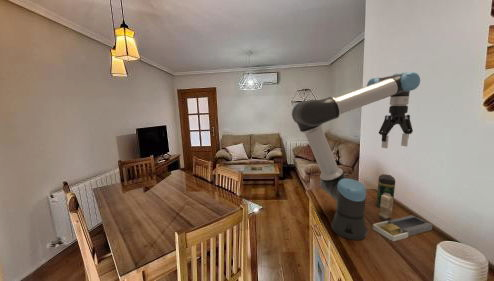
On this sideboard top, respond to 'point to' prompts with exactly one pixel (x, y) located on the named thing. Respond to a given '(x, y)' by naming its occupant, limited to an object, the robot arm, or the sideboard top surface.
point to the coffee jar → (385, 187)
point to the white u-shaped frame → (387, 235)
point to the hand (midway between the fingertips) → (394, 147)
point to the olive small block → (395, 228)
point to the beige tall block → (386, 207)
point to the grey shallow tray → (411, 225)
